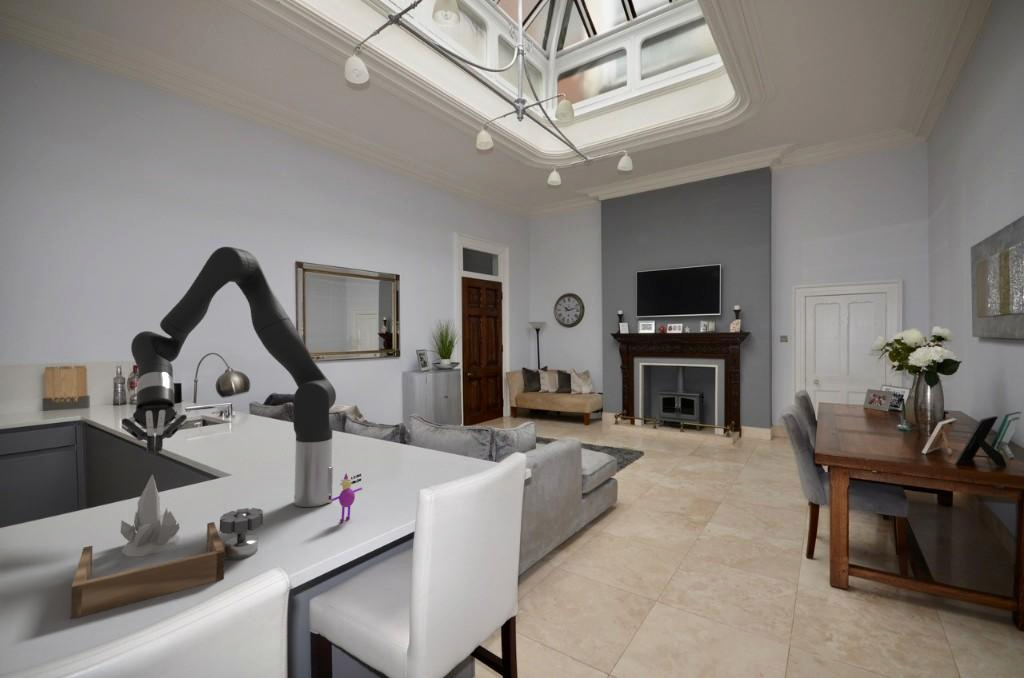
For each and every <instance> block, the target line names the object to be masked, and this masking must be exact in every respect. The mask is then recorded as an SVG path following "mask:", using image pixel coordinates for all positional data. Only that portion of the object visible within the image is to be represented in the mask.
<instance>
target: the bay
mask: <svg viewBox="0 0 1024 678" xmlns="http://www.w3.org/2000/svg"><path fill="white" fill-rule="evenodd" d="M206 525H207V526H206V527H207V529H206V548H207V549H206V550H207V552H206V553H205V552H204V553H201V554H197V555H193V556H188V557H184V558H179V559H175V560H171V561H167V562H162V563H157V564H154V565H149V566H145V567H141V568H135V569H132V570H131V569H130V570H128V571H123V572H119V573H115V574H110V575H106V576H101V577H97V578H92V579H91V577H92V573H93V545H89V546H84V547H83V549H82V552H81V555H80V559H79V562H78V565H77V569H76V572H75V575H74V578H73V581H72V585H71V593H70V595H71V598H70V600H71V601H70V620H73V619H76V618H80V617H84V616H88V615H91V614H95V613H100V612H103V611H107V610H111V609H115V608H117V607H118V608H119V607H121V606H126V605H130V604H134V603H137V602H142V601H144V600H149V599H152V598H156V597H160V596H164V595H167V594H171V593H175V592H179V591H183V590H187V589H190V588H193V587H198V586H201V585H205V584H209V583H213V582H217V581H221V580H224V578H225V558H224V556H225V551H224V545H223V543H222V541H221V537H220V534H219V532H218V529H217V526H216V524H215V522H214V521H212V522H208V523H207V524H206Z"/></svg>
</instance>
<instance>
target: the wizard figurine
mask: <svg viewBox="0 0 1024 678" xmlns="http://www.w3.org/2000/svg"><path fill="white" fill-rule="evenodd" d="M359 477H362V473H359V474H356V475H353V476H351V477H349V476H348V474H347V472H345V475H344V477H343V478H342V479H340V481H341V483H340V486H342V490H341V492H340V494H339V496H336V497H332V499H331V494H329V500H328V503H329V504H330V503H333V501H336V500H338V502H339V504H340V506H341V518H340V519H339V522H341V523H343V522H345V519H346V520H350V519H351V506H352V505H353V503H354V501H355V500H356V499H355V498H356V495H355V493H356V492H359V491H363V489H364V487H363V486H360V487H359V488H356V489H354V490H353V489H352V488H351V486H352V485H354V484H356V483H359V482H361V481H362V478H359ZM357 478H358V479H357ZM355 479H356V480H355ZM328 503H327V504H328ZM346 508H347V516H346V517H345V509H346Z"/></svg>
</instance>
